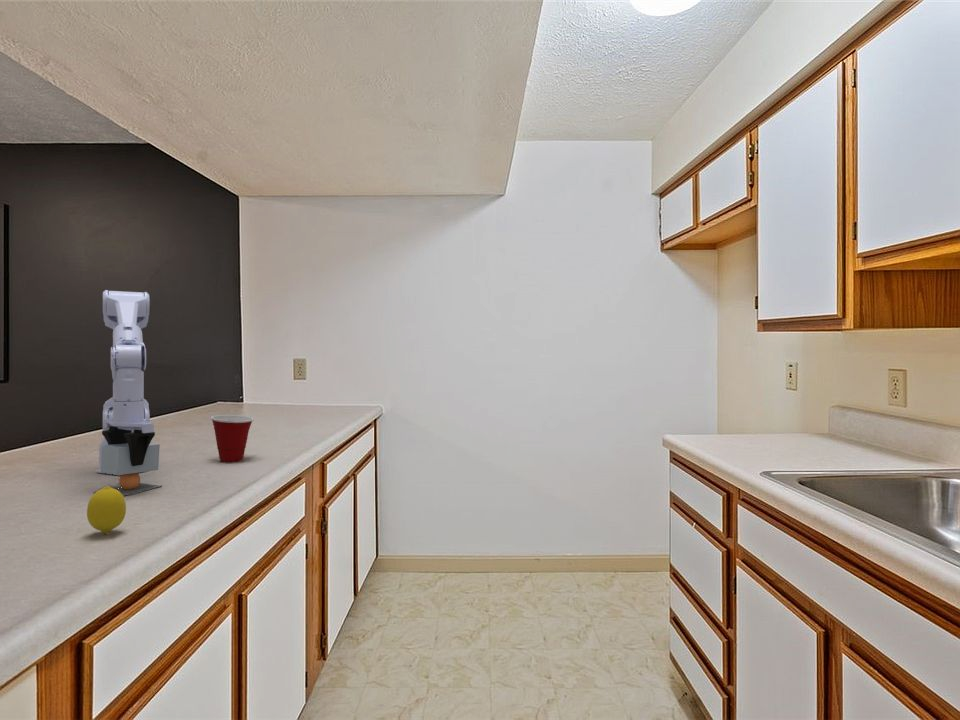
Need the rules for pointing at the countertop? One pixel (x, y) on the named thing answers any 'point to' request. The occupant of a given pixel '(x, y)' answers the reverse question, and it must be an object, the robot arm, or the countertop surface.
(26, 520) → the countertop surface
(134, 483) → the ball
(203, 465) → the countertop surface
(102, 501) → the lemon
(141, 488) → the thin grey panel
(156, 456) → the pale grey rectangular box
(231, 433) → the plastic cup
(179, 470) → the countertop surface
